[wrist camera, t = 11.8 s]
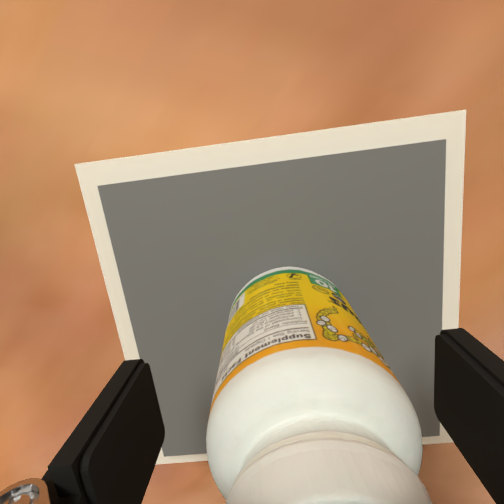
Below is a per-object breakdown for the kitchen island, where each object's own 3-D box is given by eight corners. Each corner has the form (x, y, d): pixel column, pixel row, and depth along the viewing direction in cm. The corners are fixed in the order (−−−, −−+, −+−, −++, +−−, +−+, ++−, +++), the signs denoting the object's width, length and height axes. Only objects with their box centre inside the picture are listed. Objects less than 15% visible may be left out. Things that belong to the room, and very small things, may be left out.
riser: (414, 124, 17) (474, 107, 12) (414, 384, 21) (459, 450, 16) (120, 164, 18) (67, 164, 13) (174, 405, 22) (149, 473, 17)
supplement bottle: (209, 291, 14) (115, 523, 5) (323, 243, 14) (456, 412, 4) (259, 387, 16) (256, 715, 6) (365, 348, 15) (539, 652, 6)
